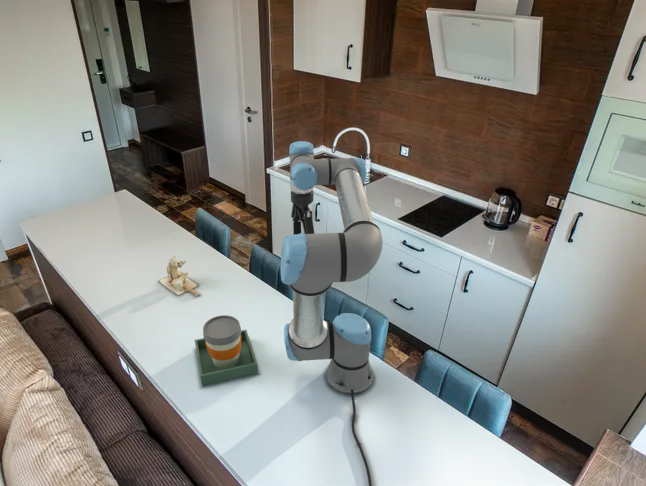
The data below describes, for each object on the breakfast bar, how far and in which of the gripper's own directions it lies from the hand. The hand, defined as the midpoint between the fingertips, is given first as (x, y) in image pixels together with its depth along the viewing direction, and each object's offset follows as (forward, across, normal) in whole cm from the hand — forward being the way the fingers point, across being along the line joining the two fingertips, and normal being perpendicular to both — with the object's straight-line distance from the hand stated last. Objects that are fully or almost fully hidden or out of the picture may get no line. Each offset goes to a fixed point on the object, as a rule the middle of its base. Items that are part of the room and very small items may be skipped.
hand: (302, 247), depth 160 cm
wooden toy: (+32, +37, +44) cm, 66 cm away
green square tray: (+32, -15, +33) cm, 48 cm away
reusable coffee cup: (+31, -15, +33) cm, 48 cm away
